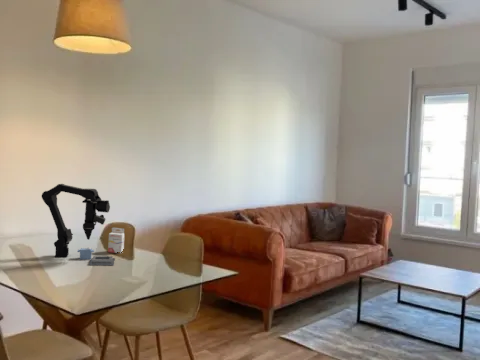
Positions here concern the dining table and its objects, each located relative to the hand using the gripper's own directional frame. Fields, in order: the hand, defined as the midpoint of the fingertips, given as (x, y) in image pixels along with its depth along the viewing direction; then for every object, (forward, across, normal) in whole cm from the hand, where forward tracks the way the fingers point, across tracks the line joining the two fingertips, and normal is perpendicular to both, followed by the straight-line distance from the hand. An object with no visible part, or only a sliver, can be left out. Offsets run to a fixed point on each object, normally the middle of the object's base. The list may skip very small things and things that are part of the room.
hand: (89, 237), depth 289 cm
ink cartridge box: (+12, +16, -15) cm, 25 cm away
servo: (+12, -1, +1) cm, 12 cm away
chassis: (+12, -10, -9) cm, 18 cm away
